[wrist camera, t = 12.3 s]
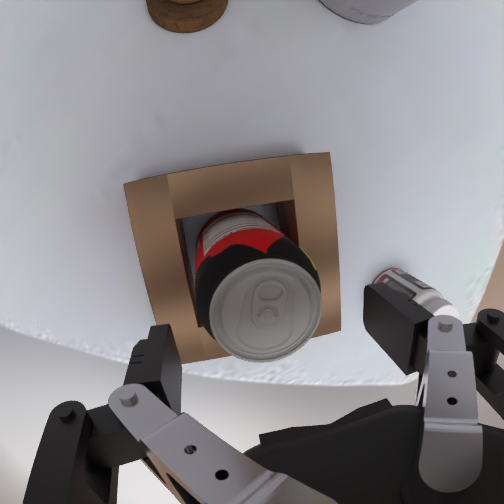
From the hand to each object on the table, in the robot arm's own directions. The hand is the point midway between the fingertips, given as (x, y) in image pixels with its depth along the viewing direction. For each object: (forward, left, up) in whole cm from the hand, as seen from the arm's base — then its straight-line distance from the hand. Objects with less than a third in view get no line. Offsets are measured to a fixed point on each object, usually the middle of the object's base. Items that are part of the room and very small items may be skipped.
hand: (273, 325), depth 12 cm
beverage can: (0, 0, -14) cm, 14 cm away
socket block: (0, 0, -14) cm, 14 cm away
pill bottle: (+7, +14, -14) cm, 21 cm away
